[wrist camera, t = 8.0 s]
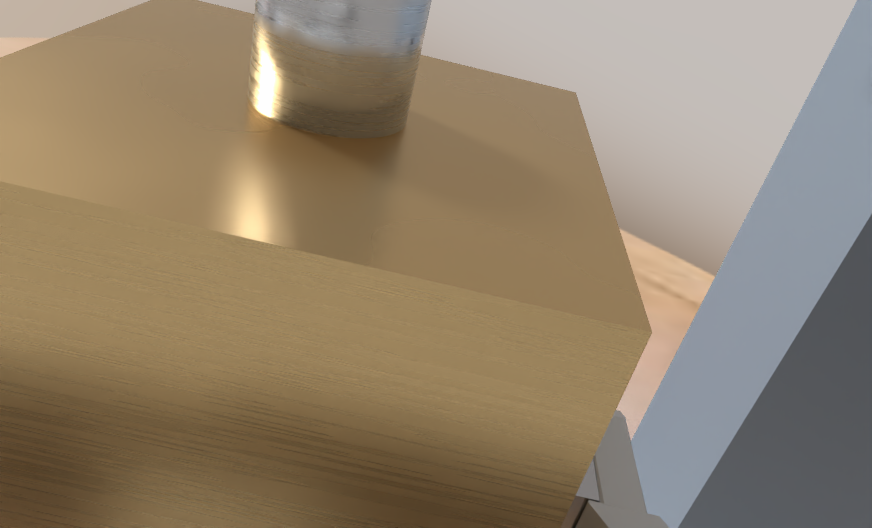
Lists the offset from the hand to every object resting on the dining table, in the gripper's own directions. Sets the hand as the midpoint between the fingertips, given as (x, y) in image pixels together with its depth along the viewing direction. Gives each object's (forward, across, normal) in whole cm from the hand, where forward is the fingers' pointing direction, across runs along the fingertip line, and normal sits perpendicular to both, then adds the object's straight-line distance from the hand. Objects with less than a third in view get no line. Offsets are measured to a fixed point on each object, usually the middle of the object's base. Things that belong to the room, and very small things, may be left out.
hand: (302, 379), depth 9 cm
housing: (-1, 0, +6) cm, 6 cm away
